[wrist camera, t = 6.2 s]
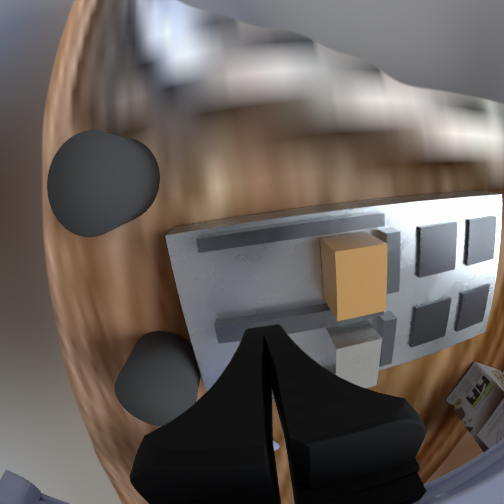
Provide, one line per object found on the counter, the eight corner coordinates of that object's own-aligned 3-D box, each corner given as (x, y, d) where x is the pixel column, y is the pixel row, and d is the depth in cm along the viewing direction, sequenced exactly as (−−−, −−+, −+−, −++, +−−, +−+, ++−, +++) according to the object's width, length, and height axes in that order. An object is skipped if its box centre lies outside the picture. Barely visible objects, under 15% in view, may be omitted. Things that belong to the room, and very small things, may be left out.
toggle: (323, 298, 18) (337, 321, 15) (319, 238, 17) (335, 251, 14) (366, 290, 18) (385, 310, 15) (365, 231, 17) (387, 243, 14)
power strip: (211, 376, 23) (205, 427, 17) (175, 226, 20) (150, 248, 14) (468, 318, 23) (502, 346, 17) (479, 190, 20) (526, 199, 14)
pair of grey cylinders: (146, 387, 24) (132, 425, 19) (80, 150, 18) (42, 148, 13) (208, 384, 23) (203, 426, 19) (153, 129, 18) (126, 117, 13)
